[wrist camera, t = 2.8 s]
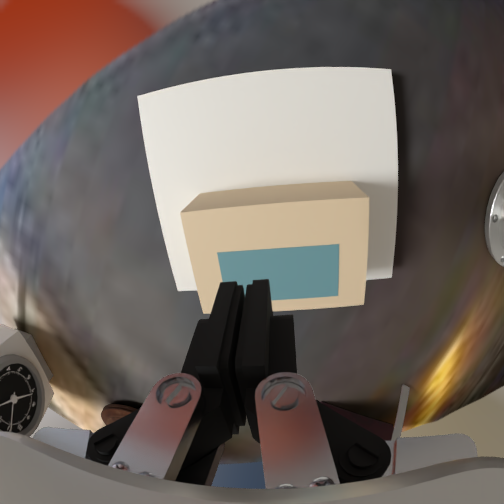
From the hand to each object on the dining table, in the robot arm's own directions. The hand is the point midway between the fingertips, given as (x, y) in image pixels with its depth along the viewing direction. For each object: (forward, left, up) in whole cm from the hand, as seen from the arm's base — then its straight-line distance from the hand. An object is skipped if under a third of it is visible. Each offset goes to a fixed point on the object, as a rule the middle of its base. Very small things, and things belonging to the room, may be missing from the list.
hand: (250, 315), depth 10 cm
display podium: (-1, -1, -16) cm, 16 cm away
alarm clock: (+45, +23, -16) cm, 53 cm away
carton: (-1, +3, -14) cm, 14 cm away
